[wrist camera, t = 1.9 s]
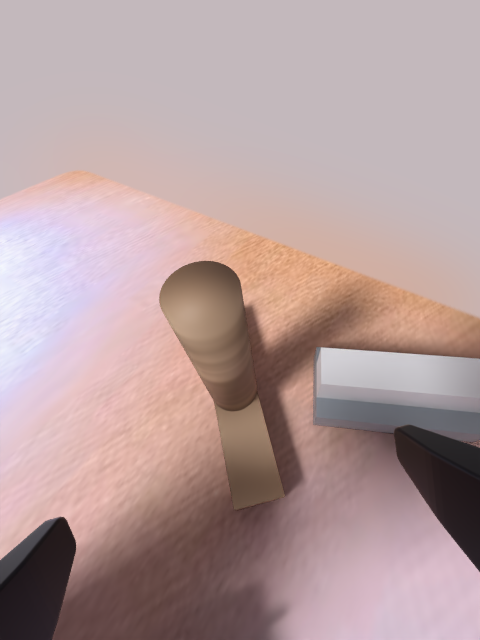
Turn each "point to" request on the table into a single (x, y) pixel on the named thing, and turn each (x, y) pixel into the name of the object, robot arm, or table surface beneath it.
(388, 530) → the table surface
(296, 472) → the table surface
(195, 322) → the t bar
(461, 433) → the ridge block
